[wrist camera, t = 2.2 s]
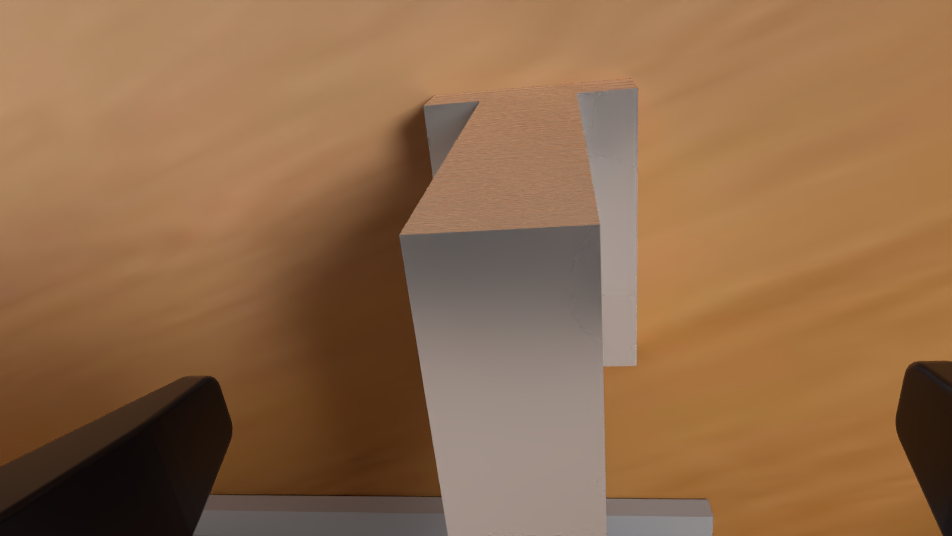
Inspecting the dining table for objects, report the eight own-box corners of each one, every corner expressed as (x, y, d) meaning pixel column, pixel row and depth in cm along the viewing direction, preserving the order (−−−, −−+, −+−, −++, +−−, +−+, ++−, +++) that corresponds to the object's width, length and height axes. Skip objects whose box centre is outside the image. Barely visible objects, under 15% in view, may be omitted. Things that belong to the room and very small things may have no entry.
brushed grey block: (630, 78, 12) (732, 217, 5) (630, 337, 15) (700, 673, 8) (434, 95, 13) (285, 241, 6) (465, 341, 16) (387, 658, 8)
